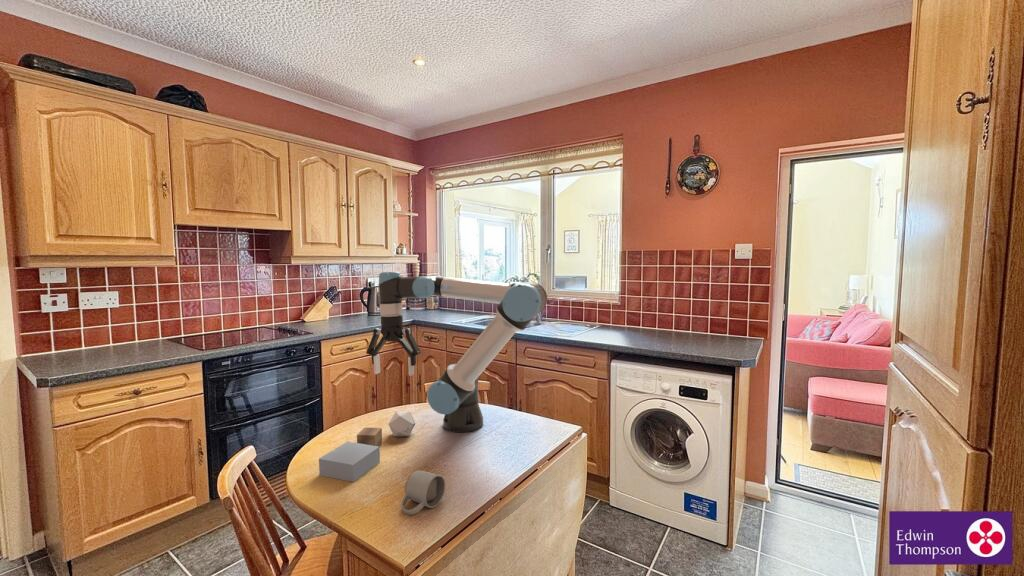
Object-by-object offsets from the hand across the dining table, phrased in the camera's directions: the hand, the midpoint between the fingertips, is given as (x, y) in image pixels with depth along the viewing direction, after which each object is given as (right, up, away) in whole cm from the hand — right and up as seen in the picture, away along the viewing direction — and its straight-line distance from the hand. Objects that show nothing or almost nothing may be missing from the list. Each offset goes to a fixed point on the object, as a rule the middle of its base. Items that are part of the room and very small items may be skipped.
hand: (394, 374), depth 148 cm
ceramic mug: (+19, -25, -42) cm, 53 cm away
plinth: (-6, -23, -24) cm, 34 cm away
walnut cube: (-5, -23, -11) cm, 26 cm away
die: (+3, -22, 0) cm, 22 cm away
